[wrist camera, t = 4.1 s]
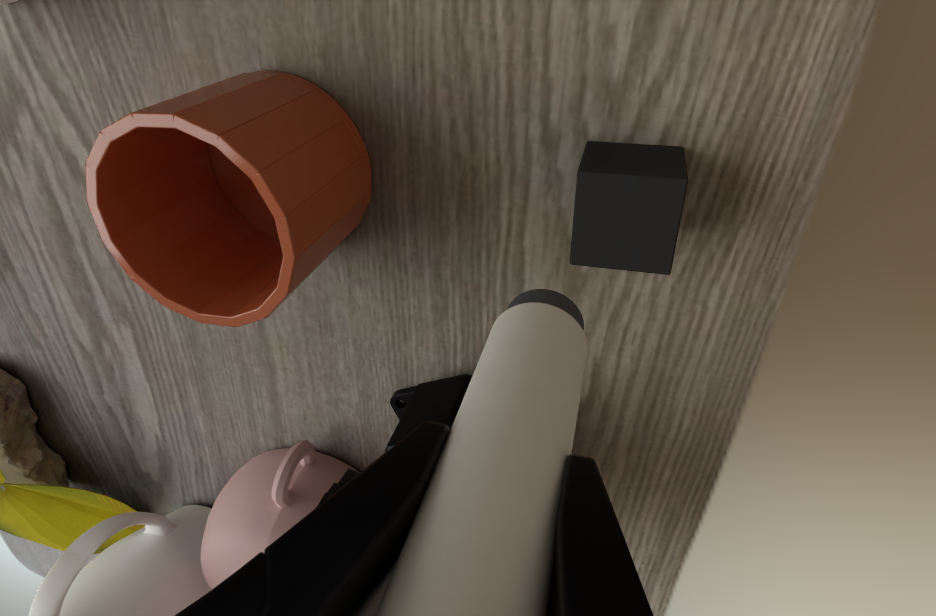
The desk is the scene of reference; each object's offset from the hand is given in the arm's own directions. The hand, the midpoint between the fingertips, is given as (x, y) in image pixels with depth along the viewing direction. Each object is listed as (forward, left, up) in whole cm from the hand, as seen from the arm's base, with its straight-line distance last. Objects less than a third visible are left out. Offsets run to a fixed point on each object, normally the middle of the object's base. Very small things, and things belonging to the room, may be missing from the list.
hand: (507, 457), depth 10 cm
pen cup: (+4, +10, -13) cm, 17 cm away
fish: (-7, +41, -9) cm, 42 cm away
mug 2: (-12, +19, -7) cm, 24 cm away
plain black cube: (-1, -1, -13) cm, 13 cm away
